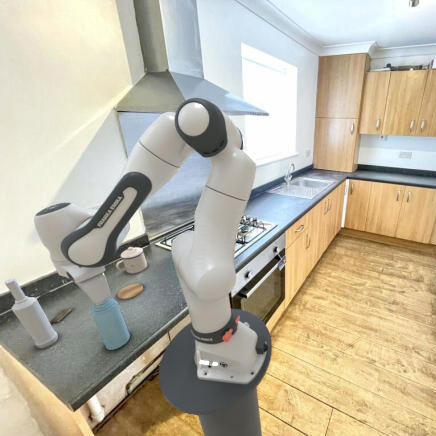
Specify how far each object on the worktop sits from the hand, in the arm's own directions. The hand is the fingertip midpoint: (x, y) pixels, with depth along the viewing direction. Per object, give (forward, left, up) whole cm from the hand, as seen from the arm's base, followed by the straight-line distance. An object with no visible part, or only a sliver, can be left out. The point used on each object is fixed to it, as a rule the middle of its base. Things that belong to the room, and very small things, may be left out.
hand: (95, 300), depth 69 cm
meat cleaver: (+29, +1, -18) cm, 34 cm away
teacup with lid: (+28, -31, -18) cm, 46 cm away
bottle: (+21, +7, -18) cm, 28 cm away
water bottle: (-1, 0, -18) cm, 18 cm away
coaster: (+16, -19, -18) cm, 31 cm away
